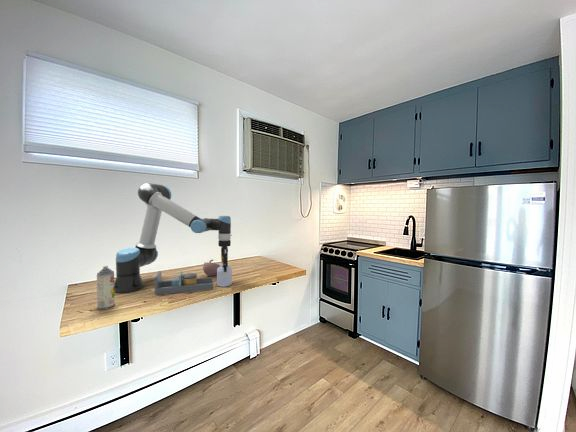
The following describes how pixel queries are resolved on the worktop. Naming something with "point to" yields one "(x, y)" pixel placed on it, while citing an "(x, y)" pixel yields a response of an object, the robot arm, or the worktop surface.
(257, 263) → the worktop surface
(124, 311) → the worktop surface
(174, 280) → the pusher
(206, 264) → the pink pumpkin
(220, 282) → the soap bottle
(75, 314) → the worktop surface
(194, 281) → the amber jar
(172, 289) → the grey slotted block
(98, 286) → the aerosol can
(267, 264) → the worktop surface
